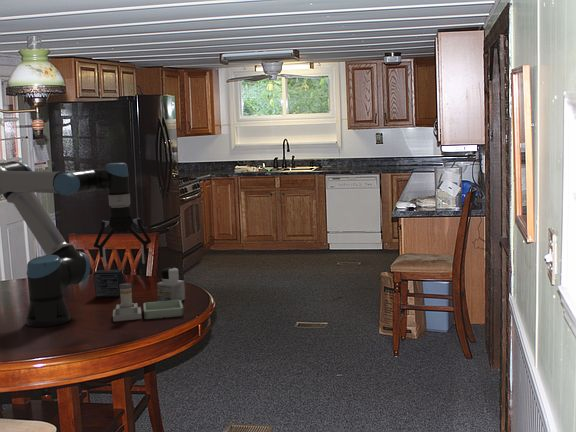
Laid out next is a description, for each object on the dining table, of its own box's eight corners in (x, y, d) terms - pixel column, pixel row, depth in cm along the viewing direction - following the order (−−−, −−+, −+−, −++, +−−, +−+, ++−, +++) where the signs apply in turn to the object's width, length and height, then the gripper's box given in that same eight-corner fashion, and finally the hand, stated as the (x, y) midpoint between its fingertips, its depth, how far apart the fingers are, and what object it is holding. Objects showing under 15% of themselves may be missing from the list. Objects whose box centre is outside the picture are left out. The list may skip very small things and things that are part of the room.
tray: (144, 319, 277) (144, 311, 277) (143, 310, 291) (143, 302, 291) (183, 315, 280) (183, 308, 280) (181, 306, 294) (180, 299, 293)
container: (157, 302, 302) (155, 269, 301) (169, 298, 309) (167, 266, 307) (173, 304, 299) (171, 271, 297) (185, 299, 306) (183, 267, 304)
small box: (125, 293, 320) (123, 268, 319) (120, 297, 314) (118, 272, 313) (100, 294, 322) (98, 269, 320) (95, 298, 315) (93, 272, 314)
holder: (113, 321, 276) (112, 310, 276) (113, 314, 286) (112, 304, 286) (141, 318, 278) (140, 308, 278) (141, 312, 288) (140, 301, 287)
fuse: (121, 313, 279) (119, 286, 278) (121, 310, 284) (119, 283, 282) (133, 312, 280) (131, 285, 279) (132, 309, 284) (131, 282, 283)
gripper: (83, 209, 271) (88, 269, 274) (155, 204, 276) (159, 263, 278) (84, 207, 278) (89, 265, 281) (154, 202, 283) (158, 259, 286)
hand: (124, 264), depth 280 cm, fingers open, 13 cm apart
